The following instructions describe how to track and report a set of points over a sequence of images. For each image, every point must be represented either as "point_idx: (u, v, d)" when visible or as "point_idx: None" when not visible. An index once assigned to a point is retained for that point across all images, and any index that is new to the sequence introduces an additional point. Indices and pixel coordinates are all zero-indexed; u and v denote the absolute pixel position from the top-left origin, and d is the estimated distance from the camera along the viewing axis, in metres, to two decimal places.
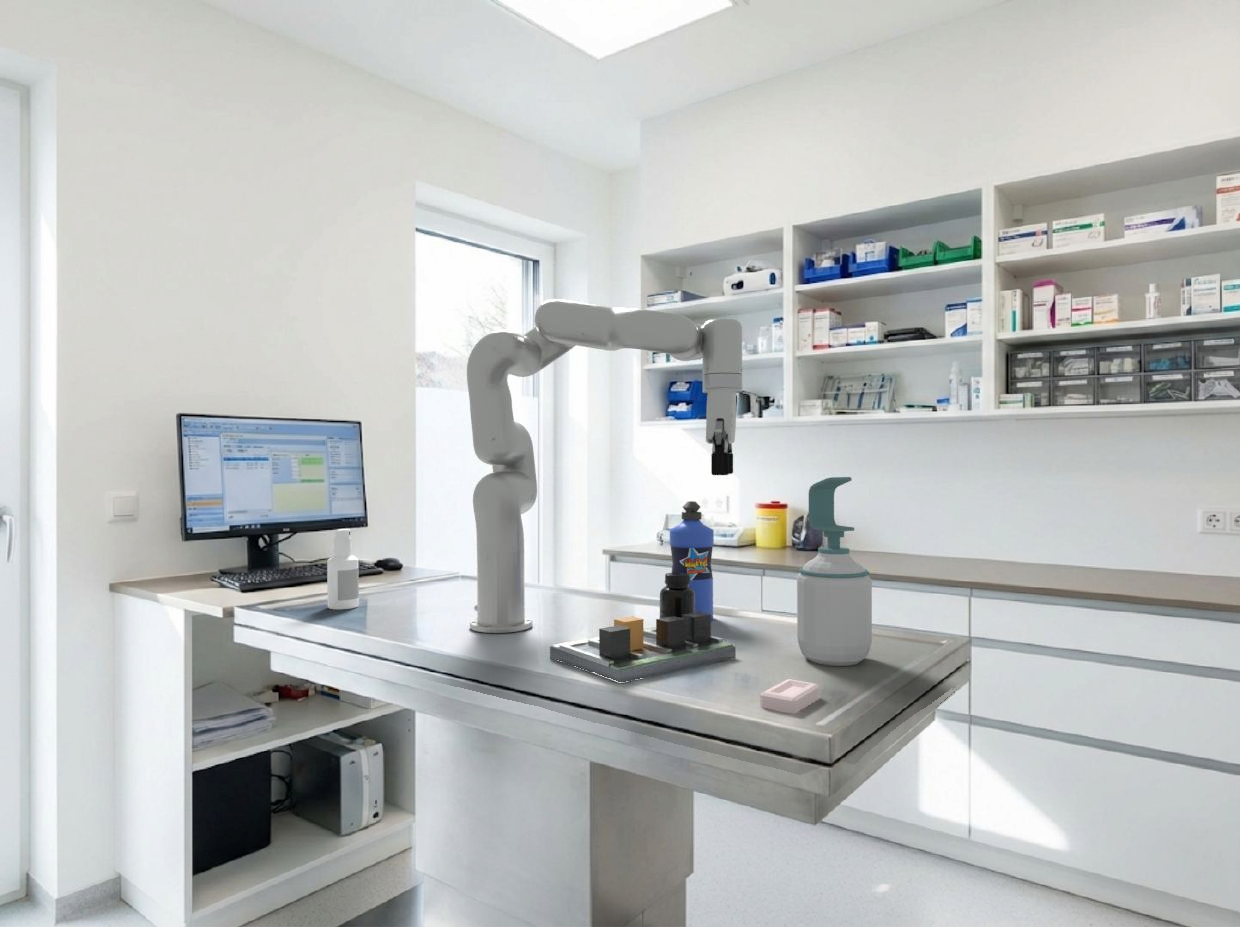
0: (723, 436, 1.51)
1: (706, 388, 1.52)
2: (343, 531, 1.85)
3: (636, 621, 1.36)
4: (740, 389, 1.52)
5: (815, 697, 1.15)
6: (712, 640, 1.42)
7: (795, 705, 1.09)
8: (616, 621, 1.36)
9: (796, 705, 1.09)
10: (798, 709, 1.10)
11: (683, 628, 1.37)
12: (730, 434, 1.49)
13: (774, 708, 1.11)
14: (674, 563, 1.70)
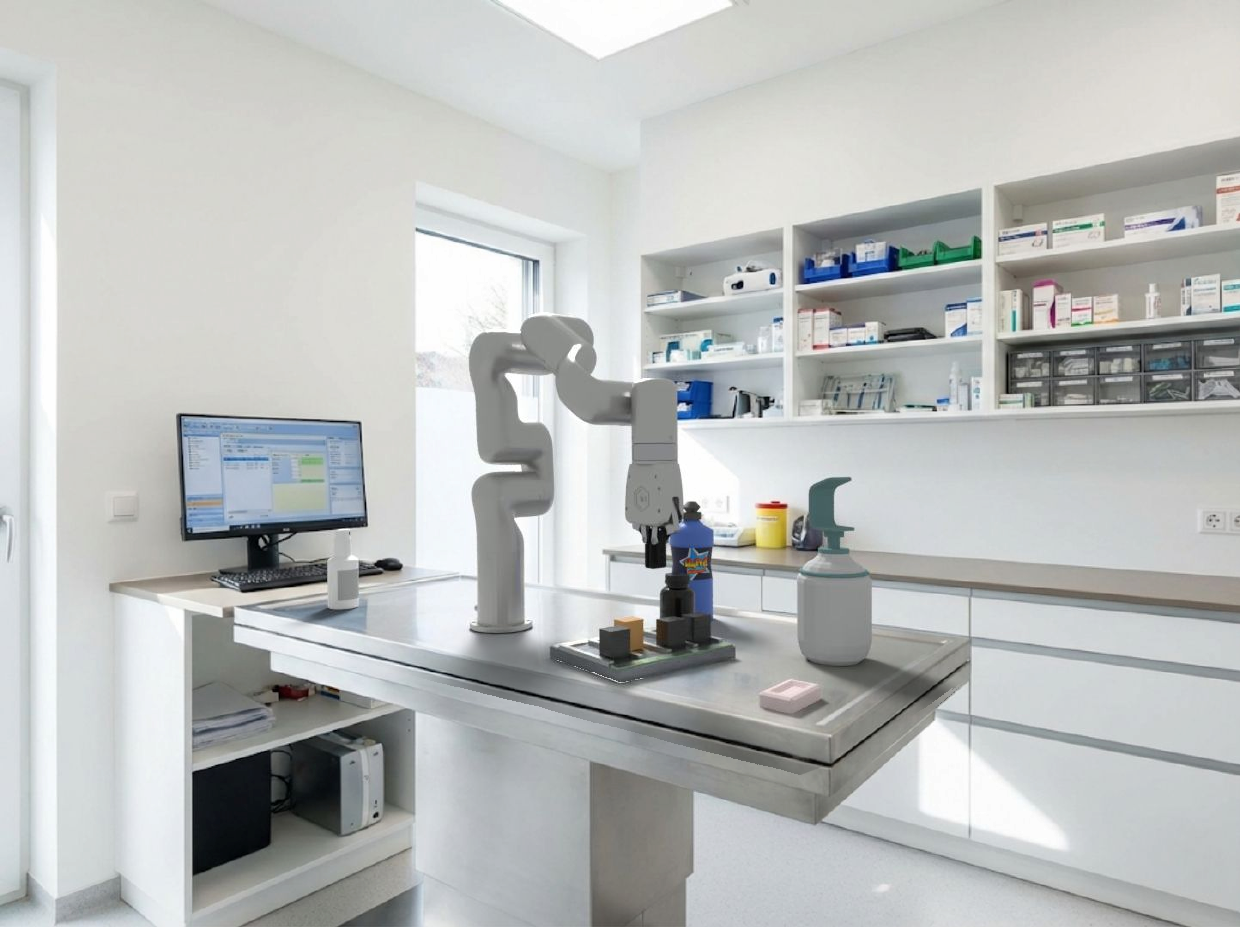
0: None
1: (650, 460, 1.27)
2: (343, 531, 1.85)
3: (636, 621, 1.36)
4: None
5: (816, 698, 1.14)
6: (712, 640, 1.42)
7: (793, 705, 1.09)
8: (616, 621, 1.36)
9: (794, 705, 1.09)
10: (796, 709, 1.10)
11: (683, 628, 1.37)
12: (682, 514, 1.29)
13: (772, 708, 1.11)
14: (674, 563, 1.70)
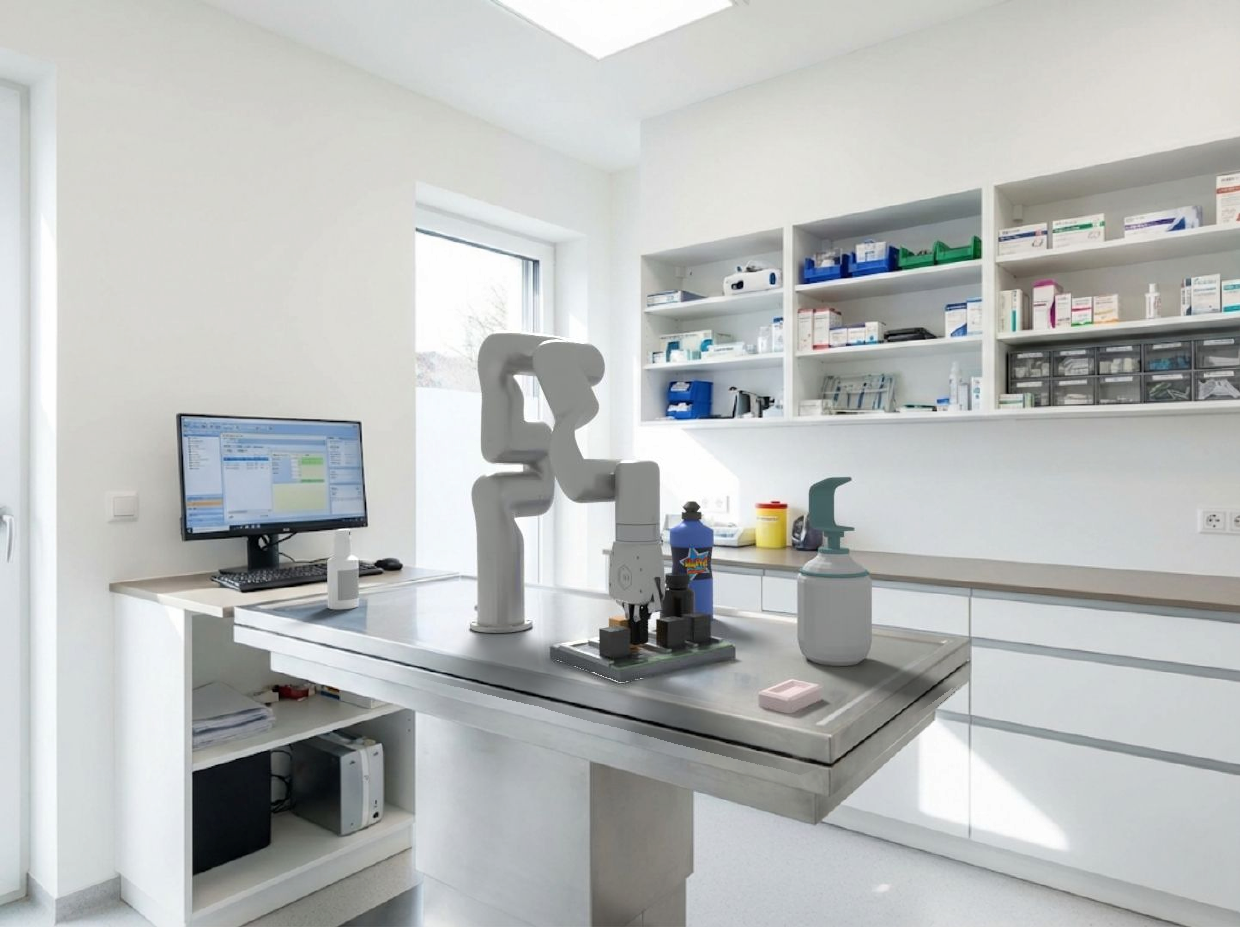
0: None
1: (632, 541, 1.31)
2: (343, 531, 1.85)
3: None
4: None
5: (816, 698, 1.14)
6: (712, 640, 1.42)
7: (791, 704, 1.09)
8: (611, 620, 1.38)
9: (792, 704, 1.09)
10: (794, 709, 1.10)
11: (683, 628, 1.37)
12: None
13: (771, 707, 1.11)
14: (674, 563, 1.70)
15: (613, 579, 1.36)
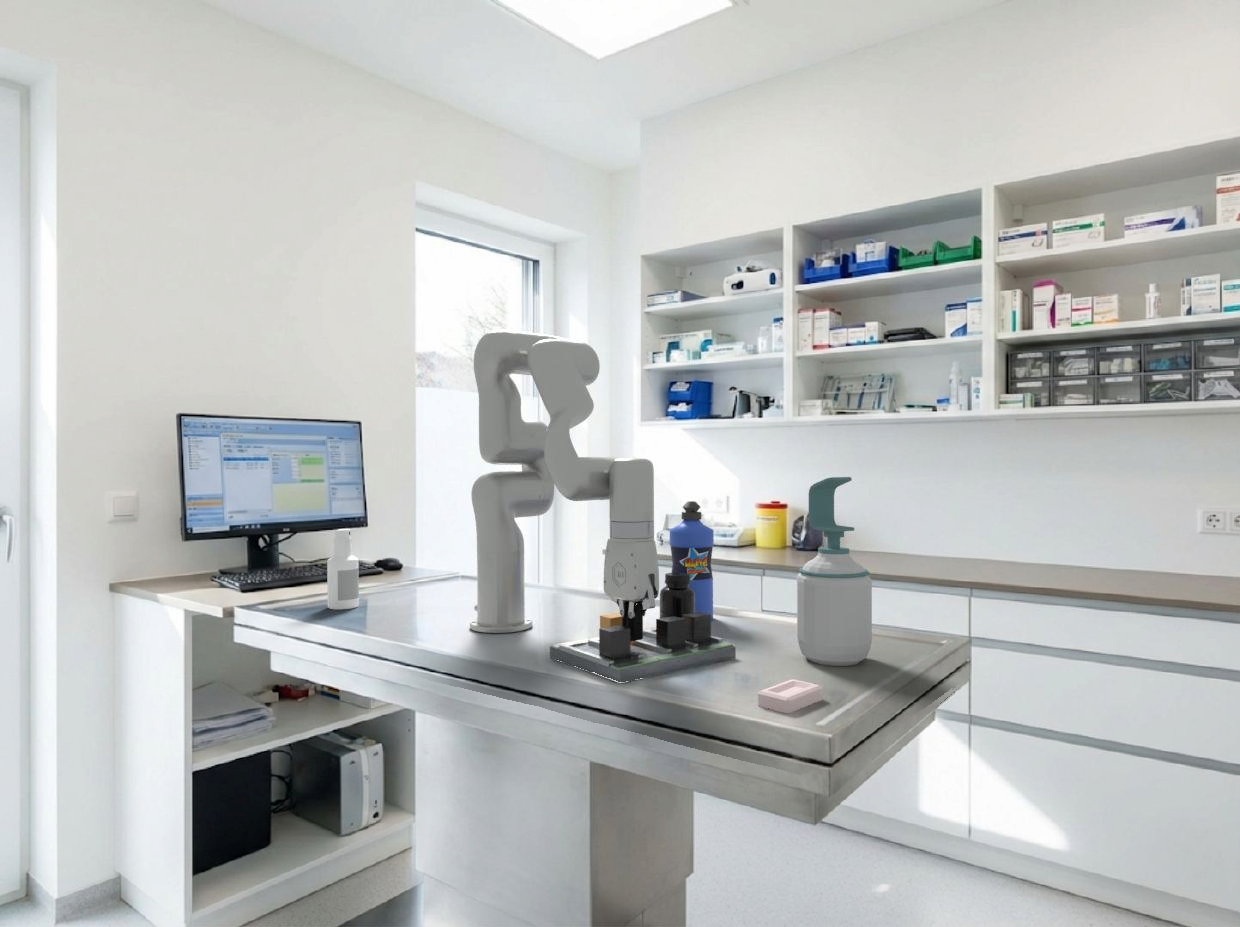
0: None
1: (627, 539, 1.32)
2: (343, 531, 1.85)
3: (621, 617, 1.39)
4: None
5: (816, 698, 1.14)
6: (712, 640, 1.42)
7: (789, 704, 1.09)
8: (602, 617, 1.40)
9: (791, 704, 1.09)
10: (793, 709, 1.10)
11: (683, 628, 1.37)
12: (658, 590, 1.34)
13: (770, 707, 1.11)
14: (674, 563, 1.70)
15: (608, 576, 1.37)
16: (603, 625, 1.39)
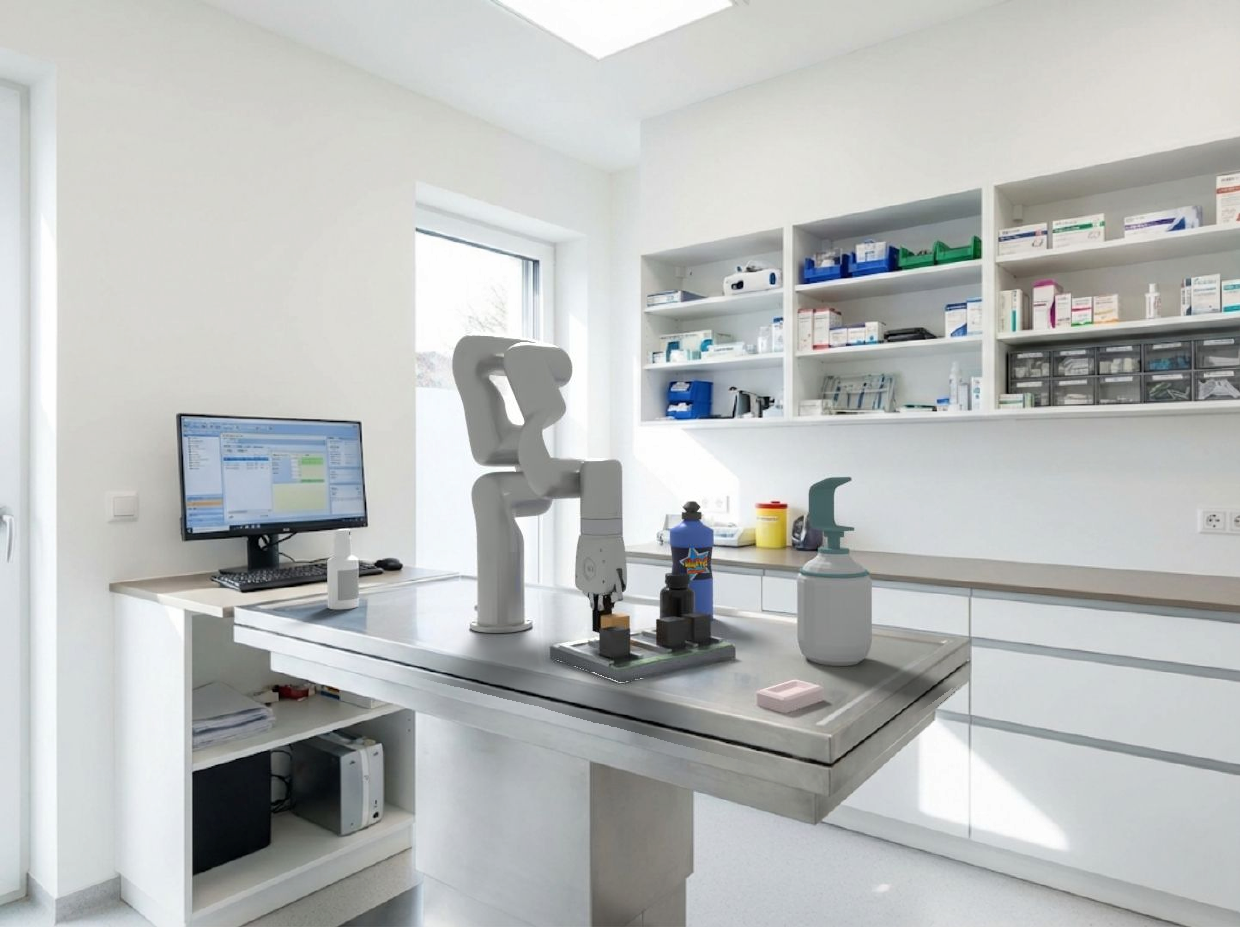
0: None
1: (596, 535, 1.39)
2: (343, 531, 1.85)
3: (622, 617, 1.39)
4: None
5: (816, 699, 1.14)
6: (712, 640, 1.42)
7: (786, 704, 1.09)
8: (603, 617, 1.39)
9: (787, 704, 1.09)
10: (791, 709, 1.10)
11: (683, 628, 1.37)
12: None
13: (768, 706, 1.11)
14: (674, 563, 1.70)
15: (579, 571, 1.44)
16: (604, 626, 1.39)
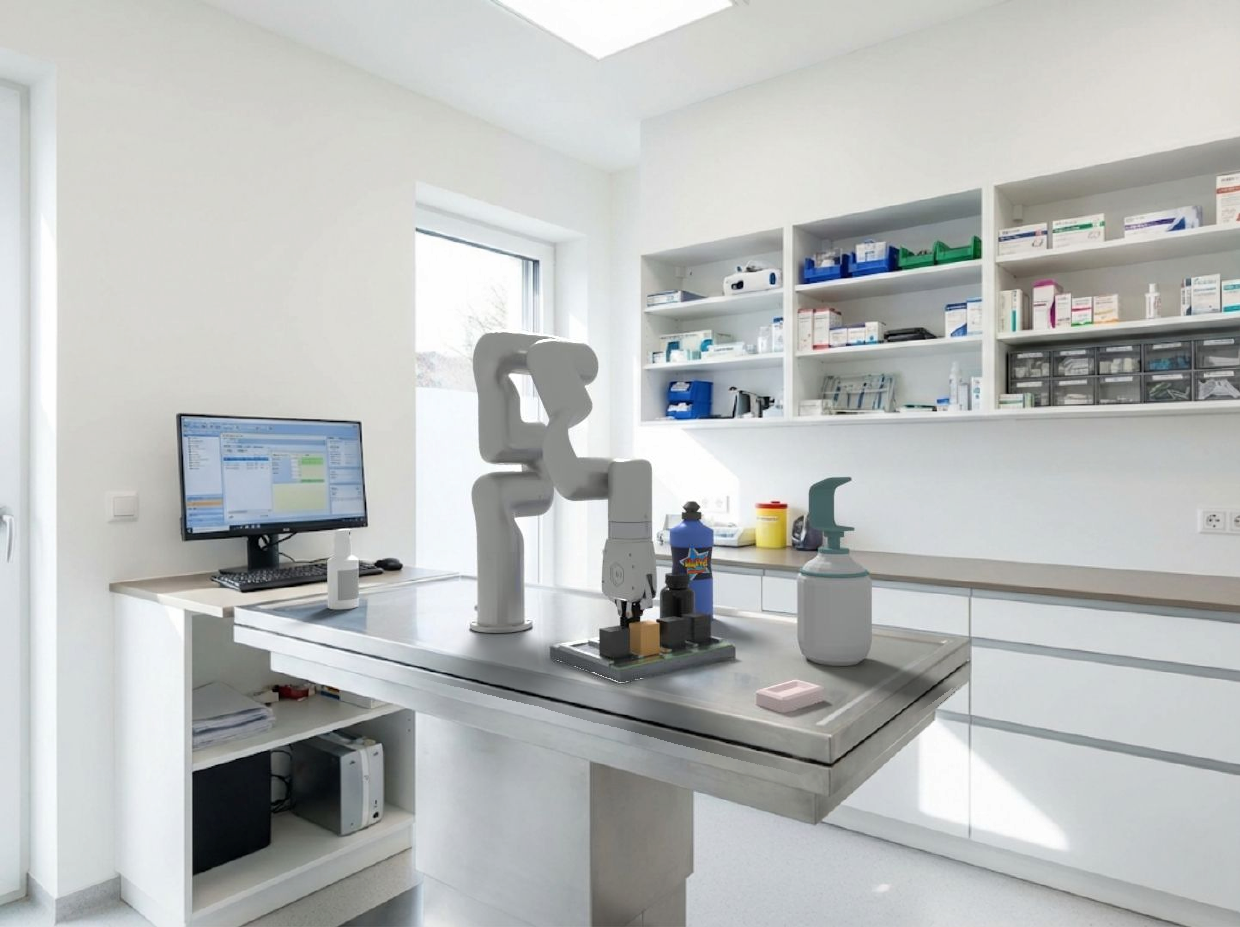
0: None
1: (625, 539, 1.33)
2: (343, 531, 1.85)
3: (652, 625, 1.33)
4: None
5: (816, 699, 1.14)
6: (712, 640, 1.42)
7: (785, 704, 1.09)
8: (631, 625, 1.33)
9: (786, 704, 1.10)
10: (789, 709, 1.10)
11: (683, 628, 1.37)
12: None
13: (767, 706, 1.12)
14: (674, 563, 1.70)
15: (606, 576, 1.37)
16: (632, 634, 1.33)
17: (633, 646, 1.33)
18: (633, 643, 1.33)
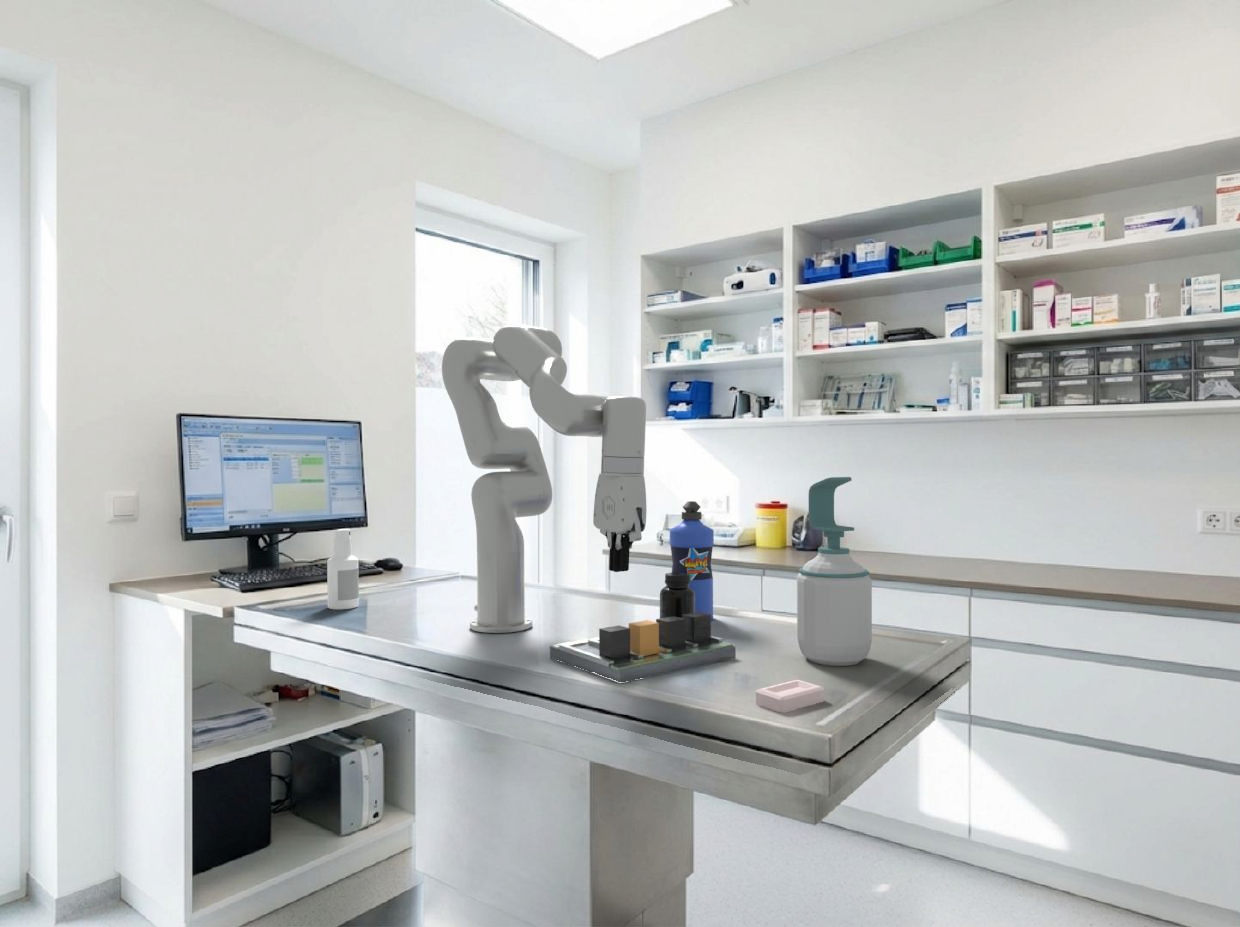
0: None
1: (617, 473, 1.38)
2: (343, 531, 1.85)
3: (651, 625, 1.33)
4: None
5: (816, 700, 1.13)
6: (712, 640, 1.42)
7: (783, 704, 1.10)
8: (631, 625, 1.33)
9: (784, 704, 1.10)
10: (788, 709, 1.10)
11: (683, 628, 1.37)
12: None
13: (766, 705, 1.12)
14: (674, 563, 1.70)
15: (598, 509, 1.43)
16: (632, 634, 1.33)
17: (632, 646, 1.33)
18: (632, 643, 1.33)
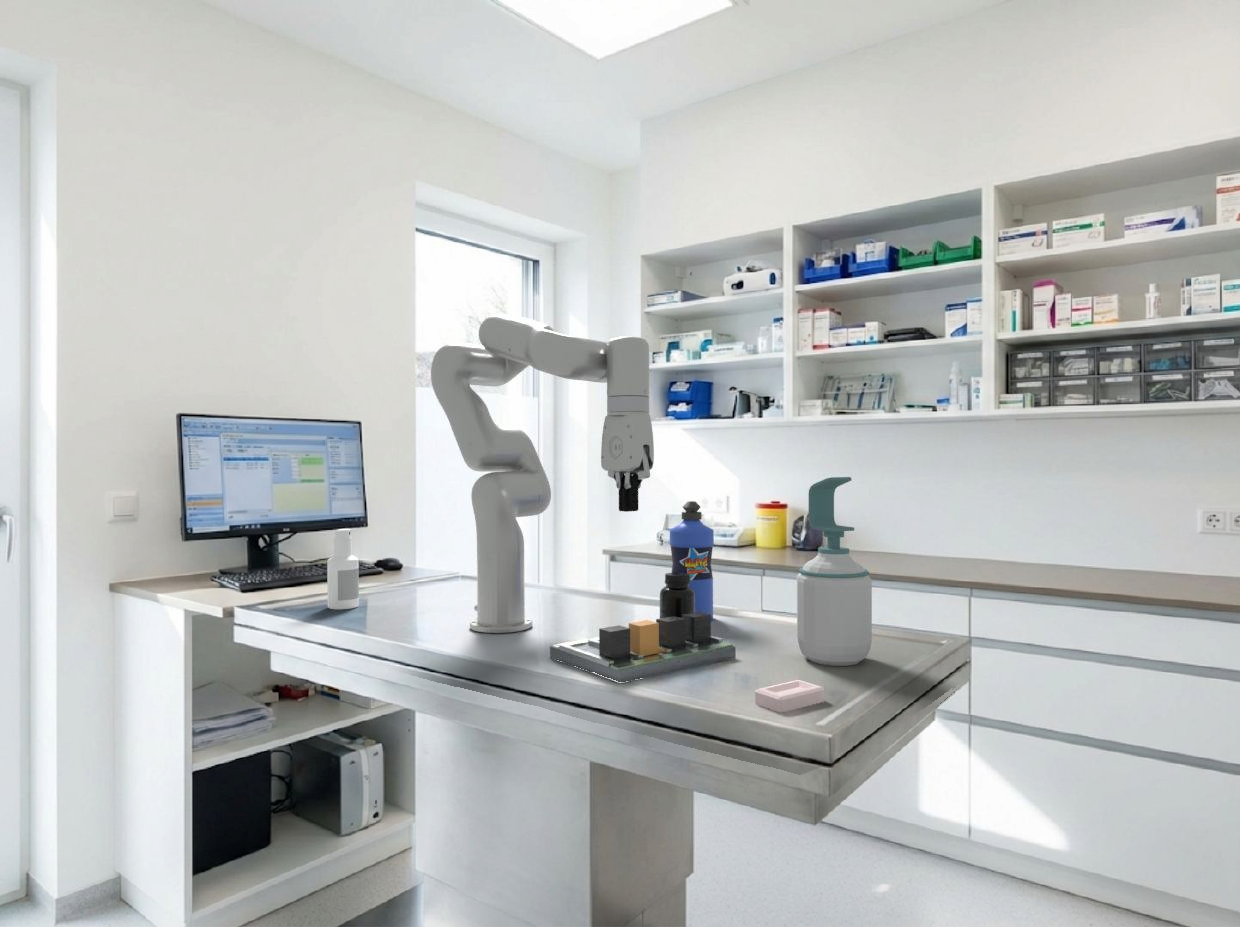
0: None
1: (623, 411, 1.39)
2: (343, 531, 1.85)
3: (651, 625, 1.33)
4: None
5: (816, 700, 1.13)
6: (712, 640, 1.42)
7: (782, 704, 1.10)
8: (631, 625, 1.33)
9: (783, 704, 1.10)
10: (787, 708, 1.10)
11: (683, 628, 1.37)
12: None
13: (765, 705, 1.12)
14: (674, 563, 1.70)
15: (605, 451, 1.44)
16: (632, 634, 1.33)
17: (632, 646, 1.33)
18: (632, 643, 1.33)
